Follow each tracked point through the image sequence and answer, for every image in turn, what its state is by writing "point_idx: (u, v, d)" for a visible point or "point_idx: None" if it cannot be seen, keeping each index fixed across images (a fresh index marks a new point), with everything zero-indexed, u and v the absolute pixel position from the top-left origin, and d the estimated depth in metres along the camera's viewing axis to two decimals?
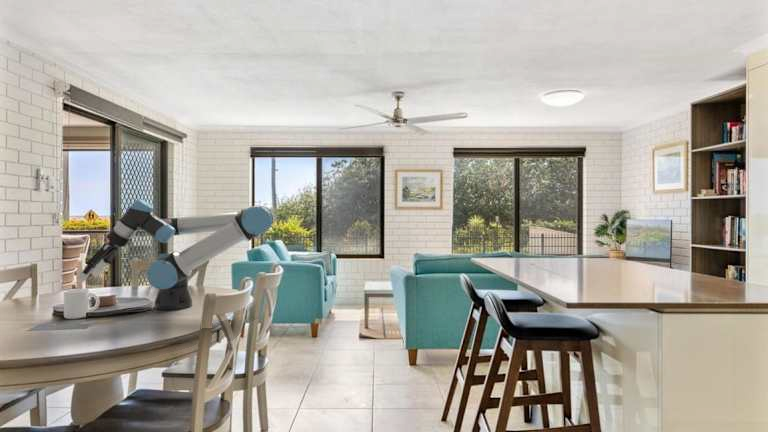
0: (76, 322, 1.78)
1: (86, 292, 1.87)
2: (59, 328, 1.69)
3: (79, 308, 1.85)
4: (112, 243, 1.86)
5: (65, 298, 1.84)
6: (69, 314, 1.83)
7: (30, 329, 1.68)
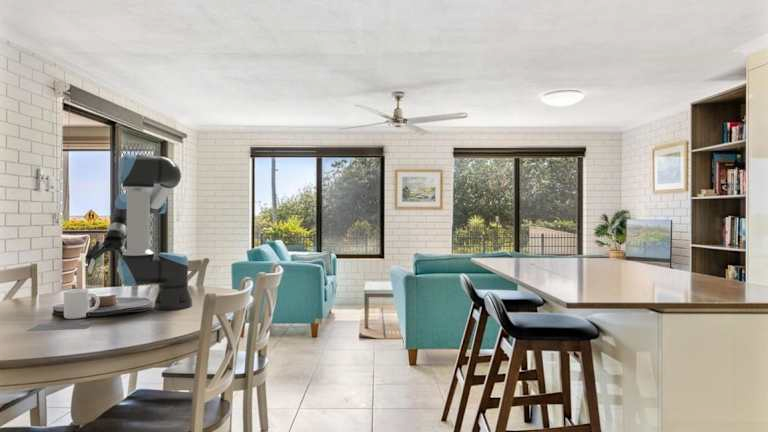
0: (76, 322, 1.78)
1: (86, 292, 1.87)
2: (59, 328, 1.69)
3: (79, 308, 1.85)
4: None
5: (65, 298, 1.84)
6: (69, 314, 1.83)
7: (30, 329, 1.68)
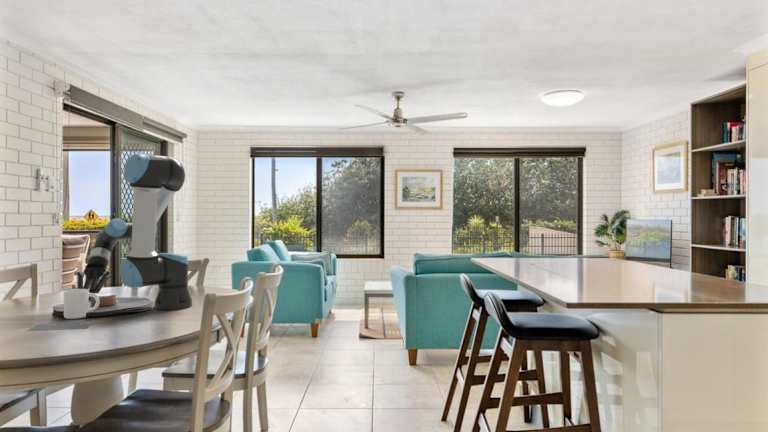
0: (76, 322, 1.78)
1: (86, 292, 1.87)
2: (59, 328, 1.69)
3: (79, 308, 1.84)
4: None
5: (65, 298, 1.84)
6: (69, 314, 1.83)
7: (30, 329, 1.68)
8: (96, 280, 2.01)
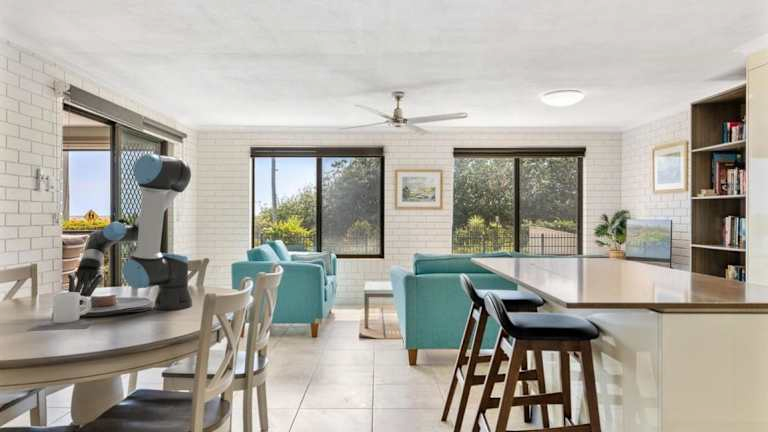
0: (76, 322, 1.78)
1: (77, 295, 1.80)
2: (59, 328, 1.69)
3: (70, 312, 1.77)
4: None
5: (55, 302, 1.76)
6: (60, 318, 1.76)
7: (30, 329, 1.68)
8: (88, 283, 1.94)
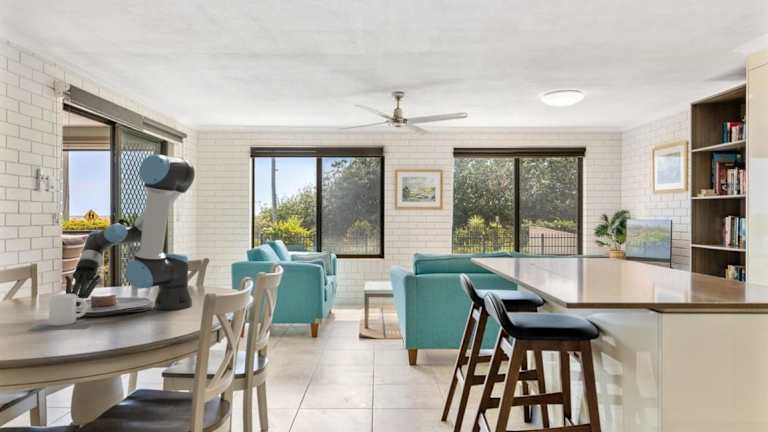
0: (76, 322, 1.78)
1: (74, 297, 1.77)
2: (59, 328, 1.69)
3: (67, 315, 1.74)
4: None
5: (51, 304, 1.72)
6: (56, 321, 1.72)
7: (30, 329, 1.68)
8: (85, 284, 1.90)
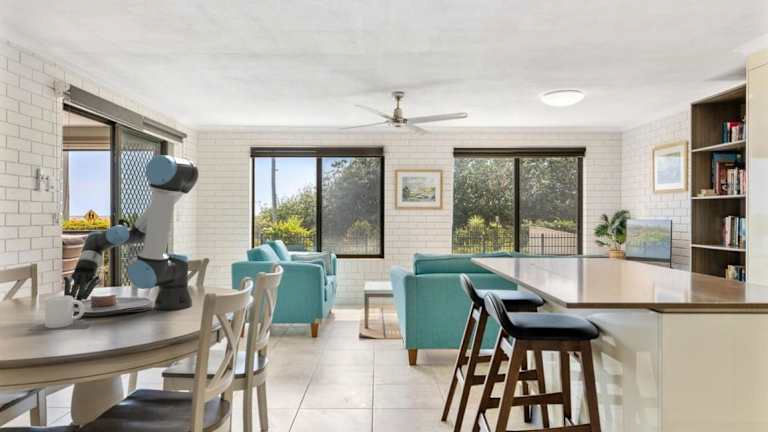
0: (76, 322, 1.78)
1: (70, 299, 1.73)
2: (59, 328, 1.69)
3: (62, 317, 1.70)
4: None
5: (47, 306, 1.69)
6: (51, 323, 1.69)
7: (30, 329, 1.68)
8: (84, 285, 1.87)
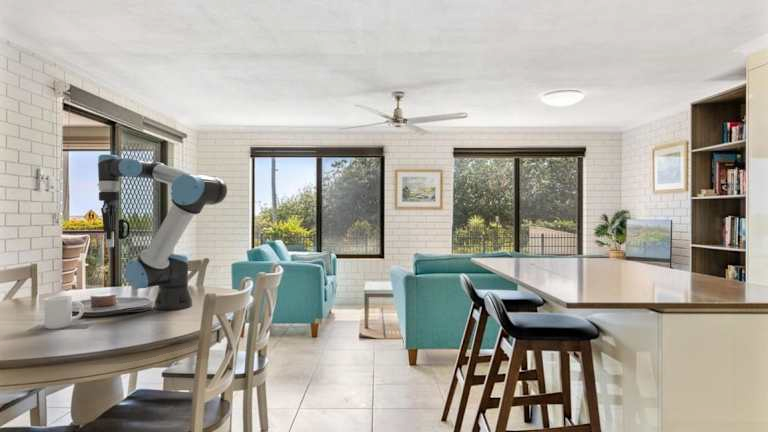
0: (76, 322, 1.78)
1: (69, 300, 1.72)
2: (59, 328, 1.69)
3: (61, 318, 1.69)
4: (107, 200, 1.99)
5: (46, 306, 1.68)
6: (50, 324, 1.68)
7: (30, 329, 1.68)
8: None
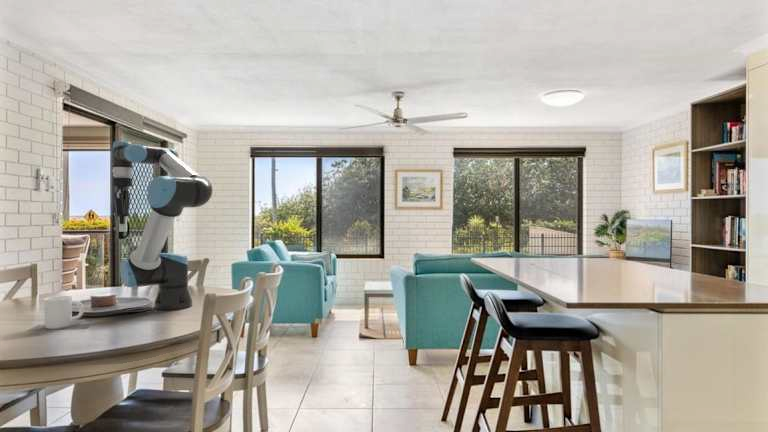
0: (76, 322, 1.78)
1: (69, 300, 1.72)
2: (59, 328, 1.69)
3: (61, 318, 1.69)
4: (120, 186, 2.04)
5: (46, 306, 1.68)
6: (50, 324, 1.68)
7: (30, 329, 1.68)
8: None
